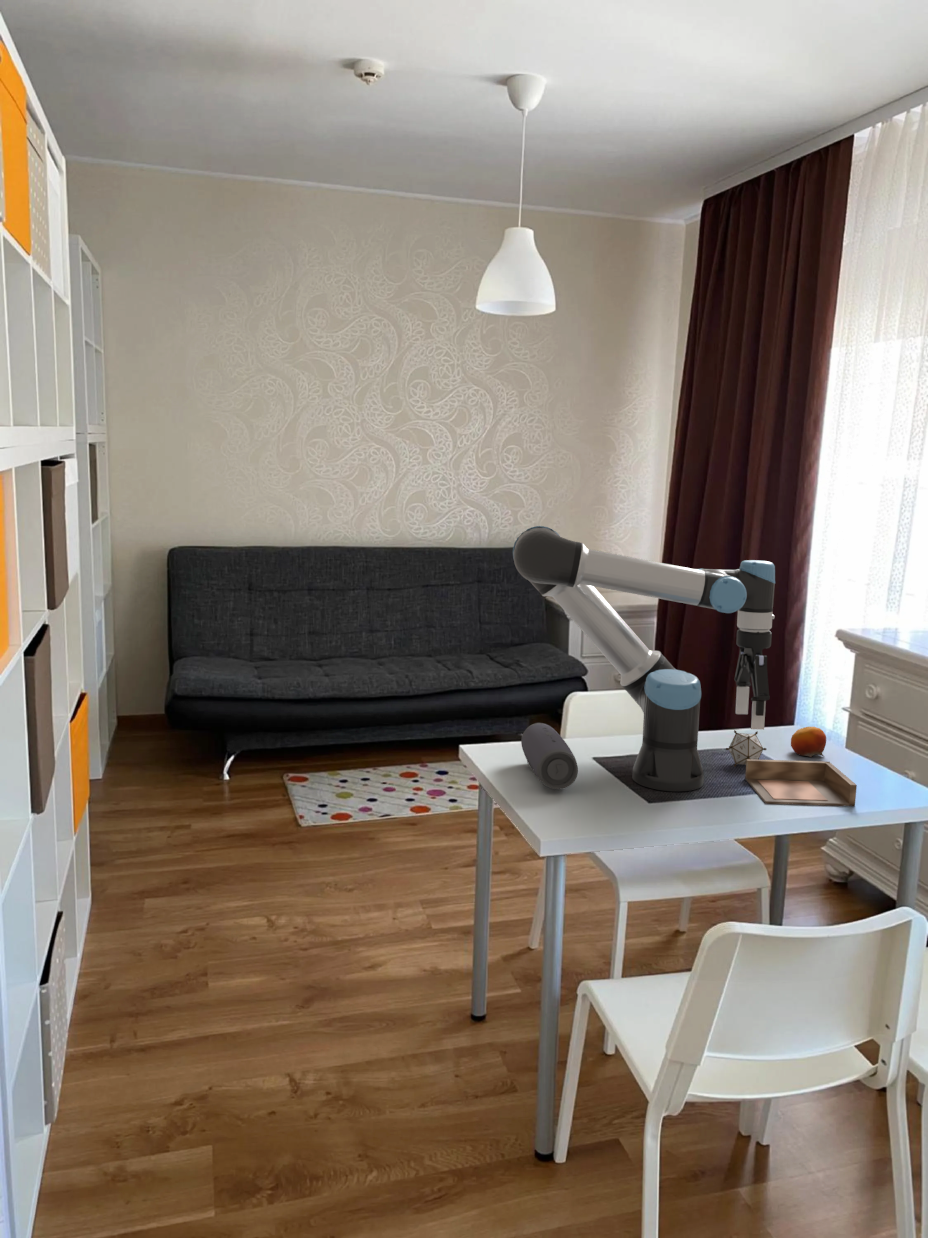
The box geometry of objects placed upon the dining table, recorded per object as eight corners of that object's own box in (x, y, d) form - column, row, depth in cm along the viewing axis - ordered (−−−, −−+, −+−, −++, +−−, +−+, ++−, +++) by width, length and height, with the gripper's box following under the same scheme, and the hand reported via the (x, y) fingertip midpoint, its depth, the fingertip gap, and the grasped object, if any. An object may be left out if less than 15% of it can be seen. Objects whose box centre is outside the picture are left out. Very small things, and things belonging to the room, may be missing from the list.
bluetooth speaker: (580, 795, 200) (582, 748, 198) (535, 796, 199) (537, 748, 197) (558, 762, 222) (560, 720, 221) (518, 763, 221) (519, 720, 220)
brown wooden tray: (765, 803, 197) (767, 782, 196) (745, 779, 213) (746, 759, 212) (854, 806, 197) (856, 785, 196) (827, 781, 213) (829, 761, 212)
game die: (748, 784, 221) (755, 758, 214) (716, 764, 226) (721, 738, 219) (768, 759, 226) (776, 733, 219) (736, 740, 230) (743, 714, 223)
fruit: (815, 757, 226) (803, 724, 229) (791, 766, 233) (781, 733, 235) (839, 753, 230) (828, 720, 232) (816, 762, 236) (805, 730, 239)
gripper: (788, 639, 206) (782, 736, 209) (756, 621, 230) (751, 708, 233) (752, 638, 206) (747, 735, 209) (724, 620, 230) (719, 707, 234)
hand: (749, 721), depth 221 cm, fingers open, 13 cm apart
